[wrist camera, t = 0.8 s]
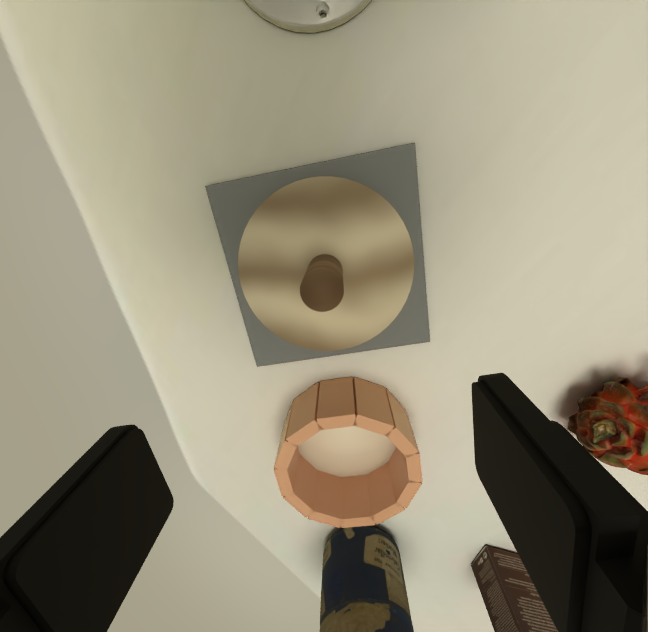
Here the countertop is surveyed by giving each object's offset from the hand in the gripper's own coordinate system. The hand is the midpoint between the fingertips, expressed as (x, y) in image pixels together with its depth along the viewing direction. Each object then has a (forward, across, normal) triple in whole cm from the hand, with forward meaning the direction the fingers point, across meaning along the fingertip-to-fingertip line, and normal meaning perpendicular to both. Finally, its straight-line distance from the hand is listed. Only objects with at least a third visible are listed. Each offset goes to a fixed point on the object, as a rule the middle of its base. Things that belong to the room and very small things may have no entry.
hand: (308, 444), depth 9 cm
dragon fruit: (+22, -26, +17) cm, 38 cm away
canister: (+22, +2, +35) cm, 42 cm away
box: (+22, -14, +40) cm, 48 cm away
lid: (+21, 0, -1) cm, 21 cm away
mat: (+21, 0, -1) cm, 21 cm away
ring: (+22, +1, +17) cm, 28 cm away
